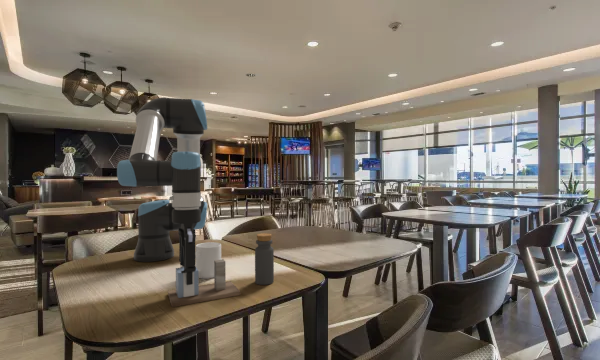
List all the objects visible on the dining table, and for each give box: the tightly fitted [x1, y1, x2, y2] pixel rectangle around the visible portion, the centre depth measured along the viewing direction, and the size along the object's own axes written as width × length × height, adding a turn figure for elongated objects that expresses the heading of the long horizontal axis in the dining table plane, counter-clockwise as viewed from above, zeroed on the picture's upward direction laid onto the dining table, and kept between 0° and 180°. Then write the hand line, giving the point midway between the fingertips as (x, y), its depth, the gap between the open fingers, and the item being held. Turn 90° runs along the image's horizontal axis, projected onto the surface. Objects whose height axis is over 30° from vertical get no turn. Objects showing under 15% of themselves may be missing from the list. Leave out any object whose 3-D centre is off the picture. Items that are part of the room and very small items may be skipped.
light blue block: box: [175, 267, 200, 298], centre depth 88 cm, size 5×5×7 cm
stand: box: [167, 258, 241, 308], centre depth 90 cm, size 10×18×9 cm, turn 118°
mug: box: [195, 241, 222, 280], centre depth 107 cm, size 12×8×10 cm
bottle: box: [254, 232, 275, 286], centre depth 101 cm, size 6×6×15 cm
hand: (187, 292), depth 88 cm, fingers closed on light blue block, 5 cm apart
